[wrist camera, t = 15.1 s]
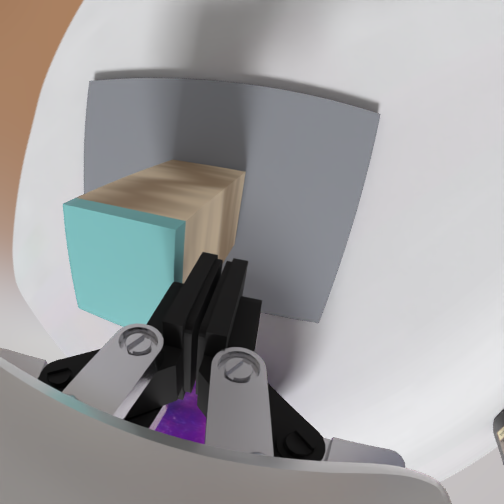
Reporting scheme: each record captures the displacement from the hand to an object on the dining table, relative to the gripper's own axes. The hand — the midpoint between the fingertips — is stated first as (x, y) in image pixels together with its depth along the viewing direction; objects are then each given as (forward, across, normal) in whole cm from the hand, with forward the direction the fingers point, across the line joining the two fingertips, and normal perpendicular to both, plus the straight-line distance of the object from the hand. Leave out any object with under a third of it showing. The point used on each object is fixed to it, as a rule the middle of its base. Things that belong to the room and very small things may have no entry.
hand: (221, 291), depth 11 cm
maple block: (+9, +3, 0) cm, 10 cm away
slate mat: (+10, +3, 0) cm, 11 cm away
